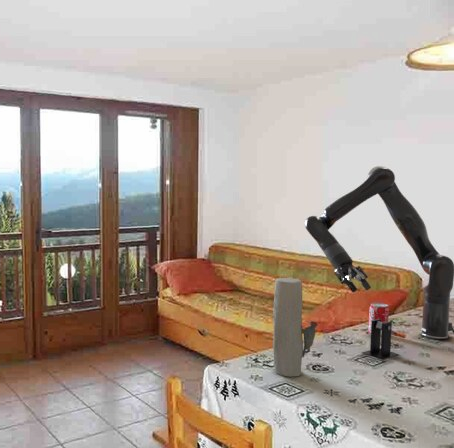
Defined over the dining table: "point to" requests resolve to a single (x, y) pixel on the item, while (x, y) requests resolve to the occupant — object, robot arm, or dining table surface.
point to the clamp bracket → (385, 341)
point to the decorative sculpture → (289, 327)
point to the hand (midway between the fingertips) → (362, 290)
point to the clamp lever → (379, 326)
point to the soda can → (378, 313)
